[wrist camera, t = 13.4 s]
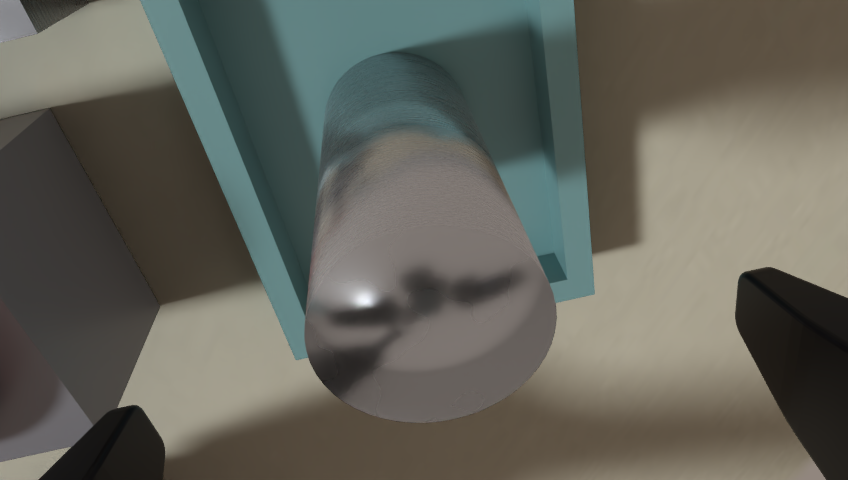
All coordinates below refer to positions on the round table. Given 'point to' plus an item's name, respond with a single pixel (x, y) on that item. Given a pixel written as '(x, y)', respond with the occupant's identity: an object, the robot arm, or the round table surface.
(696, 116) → the round table surface
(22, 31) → the socket
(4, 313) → the block
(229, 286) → the round table surface
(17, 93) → the round table surface
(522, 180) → the tray
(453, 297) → the shiny silver cylinder
